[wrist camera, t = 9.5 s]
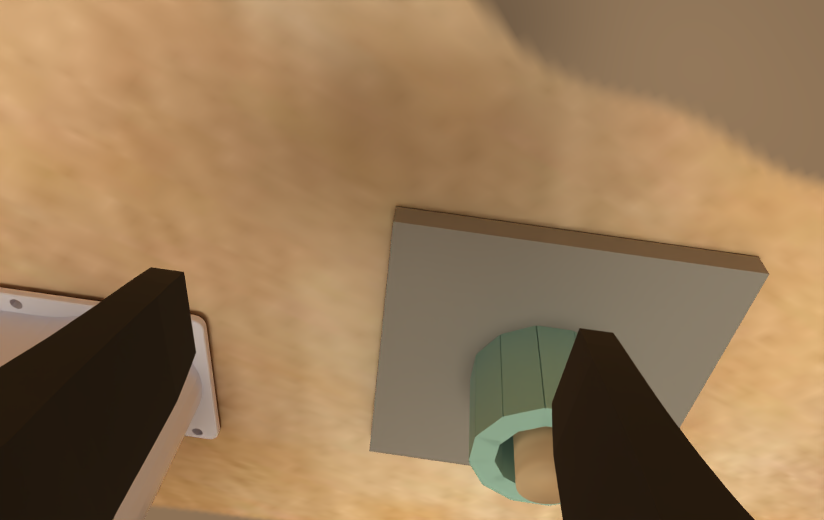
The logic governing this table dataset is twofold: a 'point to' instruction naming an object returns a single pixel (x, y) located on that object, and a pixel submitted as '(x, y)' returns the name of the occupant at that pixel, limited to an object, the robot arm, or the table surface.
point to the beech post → (535, 465)
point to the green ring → (513, 398)
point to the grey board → (539, 314)
